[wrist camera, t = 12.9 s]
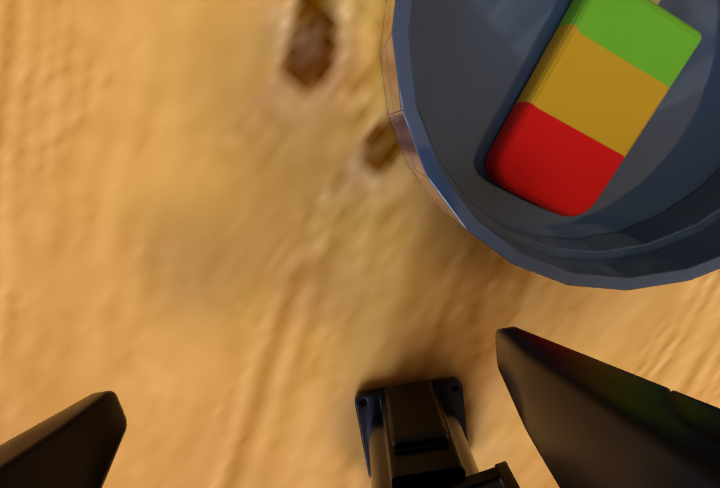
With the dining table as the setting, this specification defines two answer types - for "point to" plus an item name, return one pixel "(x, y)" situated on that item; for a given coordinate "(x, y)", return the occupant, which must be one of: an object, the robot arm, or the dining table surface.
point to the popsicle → (589, 101)
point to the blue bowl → (492, 108)
